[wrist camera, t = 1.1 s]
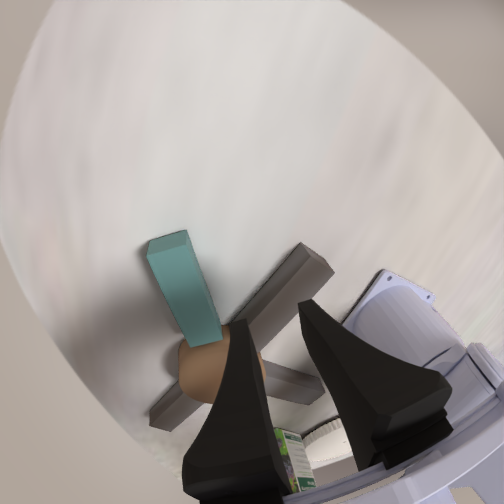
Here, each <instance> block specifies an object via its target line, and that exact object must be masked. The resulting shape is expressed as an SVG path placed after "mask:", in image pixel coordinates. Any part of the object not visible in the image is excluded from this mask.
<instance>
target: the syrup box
mask: <svg viewBox="0 0 504 504" xmlns="http://www.w3.org/2000/svg"><path fill="white" fill-rule="evenodd" d="M274 432H275V435H276V439H277V442H278V446H279V449H280V452H281V455H282V459H283V462H284V465H285V468H286V472H287V475H288V478H289V481H290V484H291V487H292V490H293V494H295V493H299V492H302V491H306V490H309V489H312V488H316V487H317V485H316V482H315V479H314V476H313V473H312V470H311V467H310V464H309V461H308V457H307V454H306V451H305V448H304V445H303V442H302V439H301V436H300V434H298V433H297V434H296V433H293V432H289V431H285V430H282V429H279V428H275V429H274ZM321 504H322V503H321Z"/></svg>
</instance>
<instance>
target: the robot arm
mask: <svg viewBox="0 0 504 504" xmlns="http://www.w3.org/2000/svg"><path fill="white" fill-rule="evenodd" d="M435 299H436V296H435V295H434V294H433V293H431V292H429V291H427V290H425V289H424V288H422V287H420V286H418V285H416V284H414V283H412V282H410V281H408V280H406V279H404V278H402V277H400V276H398V275H396V274H394V273H392V272H390V271H388V270H383V271H382V272H381V273H380V274H379V276H378V277H377V279H376V280H375V281H374V283H373V284H372V286H371V287H370V288H369V290H368V291H367V293H366V294H365V295H364V297H363V298H362V299H361V301H360V302H359V303H358V305H357V306H356V307H355V309H354V310H353V311H352V313H351V314H350V315H349V317H348V318H347V319H346V320H345V322H344V323H343V324H342V325H341V324H340V323H338V322H337V321H336V320H335V319H333V318H332V317H331V316H330V315H329V314H328V313H326V312H325V311H324V310H323V309H322V308H321V307H320V306H319V305H318V304H317V303H316V302H315V301H314V300H312V299H309V300H306V301H303V302H299V303H298V310H299V317H300V323H301V330H302V336H303V338H304V341H305V344H306V346H307V349H308V351H309V354H310V356H311V358H312V360H313V362H314V363H315V365H316V367H317V369H318V371H319V373H320V375H321V377H322V379H323V380H324V382H325V384H326V386H327V388H328V390H329V392H330V394H331V396H332V398H333V401H334V403H335V406H336V408H337V411H338V413H339V416H340V419H341V421H342V424H343V427H344V429H345V432H346V435H347V438H348V441H349V443H350V446H351V449H352V452H353V455H354V458H355V461H356V464H357V467H358V471H359V472H357V473H355V474H352V475H350V476H348V477H345V478H342V479H340V480H337V481H334V482H331V483H328V484H325V485H322V486H319V487H316V488H312V489H309V490H306V491H302V492H299V493H295V494H293V490H292V487H291V484H290V481H289V478H288V475H287V472H286V468H285V465H284V462H283V459H282V455H281V452H280V449H279V446H278V442H277V439H276V435H275V432H274V429H273V425H272V422H271V418H270V414H269V409H268V403H267V397H266V392H265V386H264V380H263V375H262V369H261V365H260V362H259V358H258V355H257V351H256V348H255V345H254V342H253V338H252V335H251V332H250V329H249V326H248V323H247V319H246V318H245V319H242V320H238V321H235V322H232V323H231V325H230V327H231V331H230V343H229V350H228V355H227V361H226V365H225V369H224V373H223V377H222V381H221V384H220V387H219V390H218V393H217V396H216V398H215V401H214V403H213V406H212V408H211V410H210V413H209V415H208V417H207V419H206V421H205V423H204V425H203V426H202V428H201V430H200V432H199V434H198V436H197V437H196V439H195V441H194V442H193V444H192V445H191V447H190V448H189V450H188V451H187V453H186V454H185V456H184V458H183V465H182V482H183V491H184V492H185V493H186V494H188V495H190V496H192V497H193V498H196V499H198V500H199V501H200V504H321V503H324V502H327V501H330V500H333V499H336V498H339V497H341V496H344V495H347V494H350V493H352V492H355V491H357V490H360V489H362V488H365V487H367V486H369V485H372V484H374V483H376V482H379V481H381V480H383V479H385V478H387V477H390V476H391V475H393V474H396V473H398V472H400V471H402V470H404V469H406V470H405V473H404V475H403V476H401V477H400V478H399V479H397V480H395V481H393V482H391V483H389V484H386V485H384V486H382V487H379V488H377V489H375V490H372V491H370V492H367V493H365V494H362V495H360V496H357V497H355V498H352V499H349V500H347V501H344V502H341V503H339V504H456V502H455V500H454V498H453V496H452V494H451V492H450V490H449V489H451V488H459V487H472V488H473V490H474V491H475V492H476V493H477V494H478V495H479V497H480V498H481V499H482V500H483V502H484V503H485V504H504V367H503V366H502V364H501V363H500V362H499V361H498V360H497V359H496V358H495V356H494V355H493V354H492V353H491V352H490V351H489V350H488V349H487V348H486V347H485V346H484V345H483V344H482V343H470V344H469V346H468V347H467V348H466V347H465V346H464V343H463V340H462V339H461V337H460V336H459V335H458V334H457V332H456V331H455V330H454V329H453V328H452V327H451V326H450V325H449V323H448V322H447V321H446V320H445V319H444V318H443V317H442V316H441V315H440V313H439V312H438V311H437V310H436V309H435V308H434V307H433V306H432V303H433V302H434V300H435Z"/></svg>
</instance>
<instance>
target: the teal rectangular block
mask: <svg viewBox="0 0 504 504" xmlns="http://www.w3.org/2000/svg"><path fill="white" fill-rule="evenodd" d="M146 257H147V259H148V262H149V264H150V266H151V268H152V271H153V273H154V275H155V277H156V279H157V282H158V284H159V286H160V288H161V290H162V292H163V294H164V297H165V299H166V301H167V303H168V305H169V307H170V309H171V311H172V313H173V315H174V317H175V319H176V321H177V323H178V325H179V327H180V329H181V331H182V333H183V335H184V337H185V338H186V340H187V342H188V344H189V346H190V348H191V347H195V346H199V345H203V344H207V343H211V342H215V341H219V340H223V336H222V329H221V323H220V319H219V317H218V314H217V312H216V309H215V306H214V304H213V301H212V299H211V296H210V293H209V291H208V288H207V285H206V283H205V280H204V277H203V275H202V272H201V269H200V266H199V264H198V261H197V258H196V255H195V252H194V250H193V247H192V244H191V241H190V238H189V235H188V232H187V230H184V231H181V232H177V233H174V234H171V235H167V236H164V237H161V238H158V239H154V240H151V241H150V243H149V247H148V251H147V255H146Z"/></svg>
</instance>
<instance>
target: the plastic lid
mask: <svg viewBox="0 0 504 504" xmlns="http://www.w3.org/2000/svg"><path fill="white" fill-rule="evenodd" d="M302 442H303V445H304V448H305V451H306V454H307V457H308V461H312V462H313V461H322V460H328V459H331V458H335V457H338V456H341V455H344V454H347V453H348V452H351V451H352V449H351V446H350V443H349V441H348V438H347V435H346V432H345V429H344V427H343V424H342V421H341V419H340V418H339V419H336V420H333V421H332V422H329V423H328V424H325V425H324V426H321V427H320V428H318V429H316V430H314V431H313V432H312V433H310V434H309V435H307V437H305V438H304V439H303V440H302Z"/></svg>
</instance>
